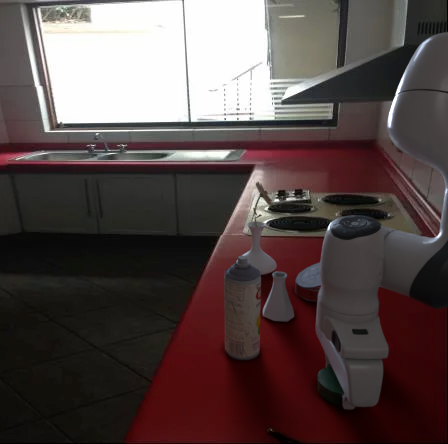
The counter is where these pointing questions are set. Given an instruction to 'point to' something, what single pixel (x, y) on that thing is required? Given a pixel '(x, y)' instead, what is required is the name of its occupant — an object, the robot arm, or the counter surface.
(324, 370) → the lid
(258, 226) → the flower in vase
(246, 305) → the aerosol can
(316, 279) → the canned food
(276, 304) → the flask
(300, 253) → the counter surface
